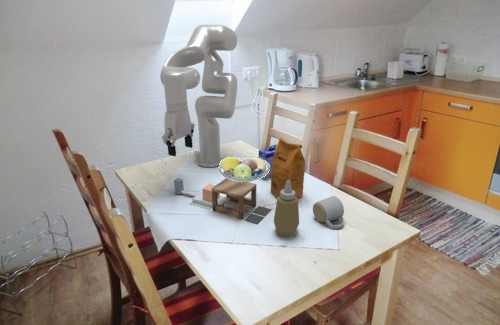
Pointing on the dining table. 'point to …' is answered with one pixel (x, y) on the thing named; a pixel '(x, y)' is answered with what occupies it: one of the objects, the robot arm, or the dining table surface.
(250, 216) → the pit pads
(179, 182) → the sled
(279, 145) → the coffee package
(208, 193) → the block
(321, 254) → the dining table surface
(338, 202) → the ceramic mug
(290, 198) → the squeeze bottle
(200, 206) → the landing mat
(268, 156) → the ink cartridge box
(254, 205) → the tunnel
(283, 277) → the dining table surface
